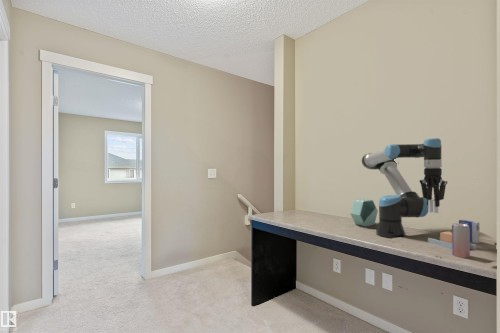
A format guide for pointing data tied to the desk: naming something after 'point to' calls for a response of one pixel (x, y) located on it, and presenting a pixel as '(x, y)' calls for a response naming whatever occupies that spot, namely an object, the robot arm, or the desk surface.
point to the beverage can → (461, 240)
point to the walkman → (472, 230)
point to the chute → (445, 244)
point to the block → (446, 237)
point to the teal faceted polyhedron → (364, 212)
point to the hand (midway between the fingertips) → (433, 212)
